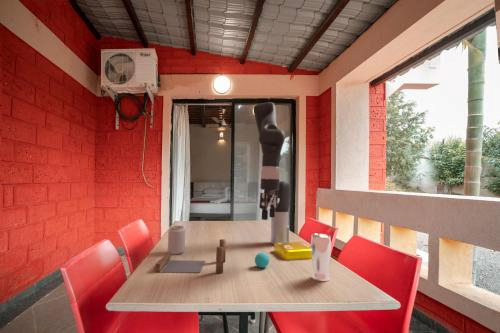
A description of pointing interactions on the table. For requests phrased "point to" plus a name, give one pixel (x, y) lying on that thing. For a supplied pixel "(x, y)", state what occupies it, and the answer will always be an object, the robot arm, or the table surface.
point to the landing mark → (184, 266)
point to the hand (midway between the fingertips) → (268, 218)
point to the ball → (261, 260)
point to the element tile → (293, 250)
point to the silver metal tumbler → (320, 256)
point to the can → (176, 240)
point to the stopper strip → (162, 262)
